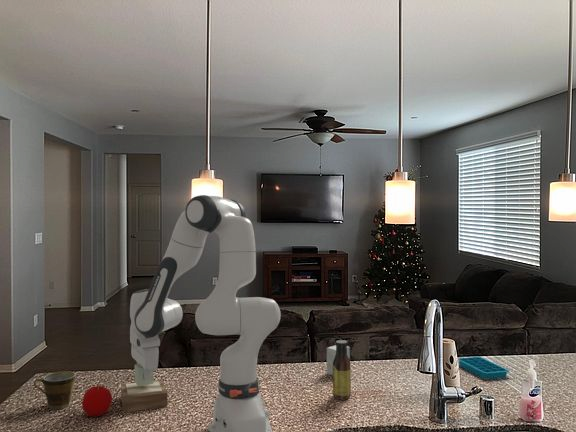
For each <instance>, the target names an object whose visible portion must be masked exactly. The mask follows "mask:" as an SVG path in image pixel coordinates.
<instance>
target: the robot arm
mask: <svg viewBox="0 0 576 432" xmlns="http://www.w3.org/2000/svg"><path fill="white" fill-rule="evenodd" d="M212 232H214V233H215V234H217V236H218V238H219V269H218V278H217V282H216V285H215V286H214V289H213V290H212V292H211V293H210V294H209V296H208V297H206V298H205V299H203V301H201V303H200V304H199V305H198V306H197V308H196V311H195V316H194V317H195V320H194V321H195V324H196V326H197V328H198V330H199V331H200V332H201V333H202V334H207V335H211V336H212V335H213V336H230V335H231V336H233V335H239V338H238V339H237V341H236V342H235V343H233V344H231V345H229V346H228V347H226V348H225V349H224V350H223V351H222V352H221V354H220V358H219V360H220V361H219V363H220V364H219V365H220V366H219V367H220V369H219V376H220V378H218V379H219V380H218V385H217V386H218V396H217V397H216V398H215V399H214V401H213V411H212V412H213V413H212V414H213V415H212V423H210V424H208V426H207V431H208V432H273V429H272V426H271V423H270V421H269V419H270V418H271V416H270V415H271V413H270V410H269V409H264V408H265V406H266V401H263V400H262V394H261V392H260V388H259V387H260V383H259V379H258V377H257V375H258V374H257V373H258V371H257V369H258V368H257V367H258V356H259V351H260V348H261V347H262V345H263V342H264V341H265V339H266V338H267V337H268V336H269V335H270V334H271V333H272V332H273V331H275V329H277V327H278V326H279V324H280V321H281V316H282V314H281V309H280V306H279V304H278V303H277V302H276V300H274V299H273V298H267V297H260V296H253V297H252V296H250V297H237V293H238V291H239V290H240V289H241V288H243V287H245V286H247V285H248V284H251V283H252V282H253V281H254V279H255V278H256V275H257V252H256V251H257V249H256V239H255V231H254V227H253V223H252V222H251V220H250V219H249V218H247V212H246V209H245V207H244V206H243V205H242V204H241V203H240V202H238V201H236V200H234V199H229V198H225V197H221V196H217V195H206V194H201V195H196V196H194V197H193V196H192V198H191V199H189V201H188V202H187V204H186V206H185V210H184V211H182V212H181V214H180V216H179V217H178V219H177V221H176V224H175V226H174V229H173V231H172V233H171V237H170V241H169V244H168V246H167V249H166V251H165V254H164V255H163V258H162V259H161V261H160V263H159V264H158V267H157V268H156V271H155V273H154V276H153V278H152V281H151V283H150V286H149V288H145V289H140V290H137V291H134V292H133V293H132V295H131V297H130V302H129V303H130V305H129V317H130V322H131V323H130V327H129V340H130V341H129V342H130V344H131V350H130V352H131V353H130V355H131V357H132V358H133V359H134V361H136V364H140V365H141V366H142V367H143V368H144V374H143V379H144V380H149V379H150V372H151V371H153V372H154V371H156V370H157V369H158V366H159V353H160V352H159V347H160V346H161V340H160V338H159V335H160V334H161V333H164V332H165V331H168V330H169V329H172V328H175V327H177V326H178V325H179V324H180V323H181V322H182V320H183V316H184V312H183V311H184V310H183V307H182V306H181V304H180V303H179V301H177V300H175V299H170V298H168V297H169V294H170V292H171V289H172V286H174V283H175V282H176V281H177V280H178V279H179V278H180V277H181V276H182V275H183V274H185V273H186V272H188V271H190V270H191V269H192V268H194V267H195V266H196V265H197V264H198V262H199V260H200V258H201V257H202V254H203V251H204V247H205V244H206V240H207V237H208V235H209V233H210V234H211V233H212Z"/></svg>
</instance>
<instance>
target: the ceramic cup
mask: <svg viewBox="0 0 576 432" xmlns="http://www.w3.org/2000/svg"><path fill="white" fill-rule="evenodd" d="M76 377H77V375H76V372H73V371H68V370H67V371H64V370H63V371H57V372H52V373H48V374H46V375H44V376H43V378H36V379H35V380H34V382H33V385H34V388H36V389H38V390H39V391H41V393H42V394H44V395H45V397H46V400H47V406H48V408H49V409H51V410H63V409H65V408H68V407H70V405H71V403H72V400H73V399H72V398H73V393H74V386H75V382H76ZM37 382H41V383H42V385H43V386H44V390H43V389H42V388H40V387H39V386H37V385H36V383H37Z"/></svg>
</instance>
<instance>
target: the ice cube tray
mask: <svg viewBox="0 0 576 432" xmlns="http://www.w3.org/2000/svg"><path fill="white" fill-rule="evenodd" d="M458 358H459V359H458V360H459V361H458V360H457V361H458V364H459V366H460V367H461V368H463V369H465V370H467V371H468V372H470V373H472V374H475V375H476V376H478V377H479V378H482V379H485V380H492V379H502V378H507V374H508V373H509V372H510V369H507V368H505V367H503V366H501V365H499V364H497V363H495V362H492V361H490V360H488V359H487V358H483V357H482V356H470V357H469V356H468V357H458Z"/></svg>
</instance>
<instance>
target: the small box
mask: <svg viewBox="0 0 576 432" xmlns="http://www.w3.org/2000/svg"><path fill="white" fill-rule="evenodd" d="M350 350H351V348H350V346H348V345H347V356H348V357H349V359H350V360H351V357H350V353H351V352H350ZM335 355H336V344H335V345H332V346H328V347H326V374H328V375H331V376H333V361H334V358H335Z"/></svg>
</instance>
